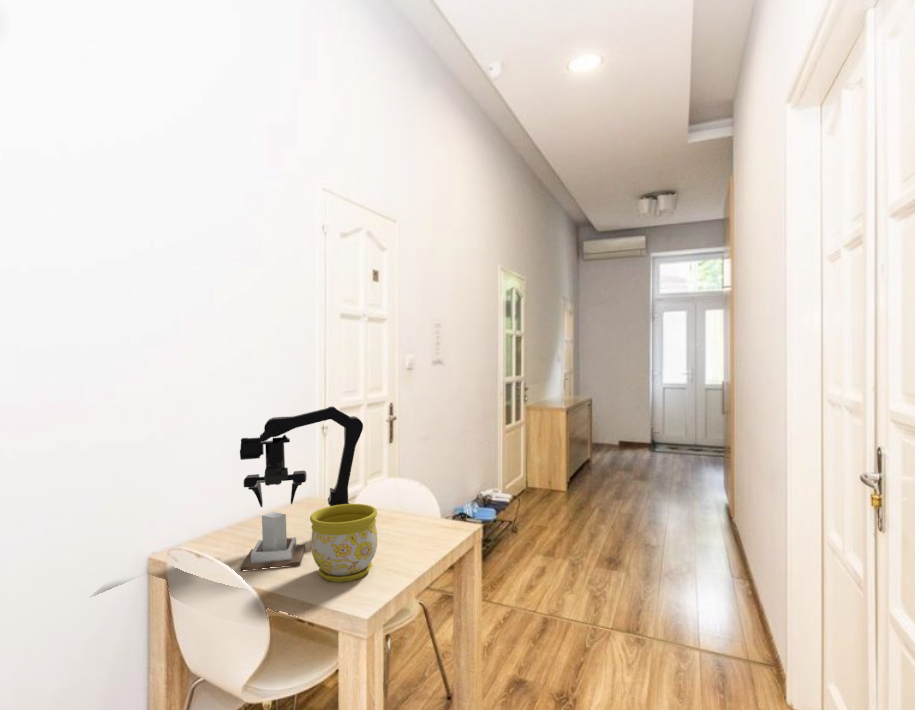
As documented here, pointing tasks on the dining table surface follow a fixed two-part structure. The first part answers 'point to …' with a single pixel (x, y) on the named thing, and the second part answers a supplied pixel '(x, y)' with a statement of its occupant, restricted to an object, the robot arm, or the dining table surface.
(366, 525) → the flowerpot
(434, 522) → the dining table surface
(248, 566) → the square wooden tray
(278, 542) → the skincare box
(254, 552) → the light gray square frame
